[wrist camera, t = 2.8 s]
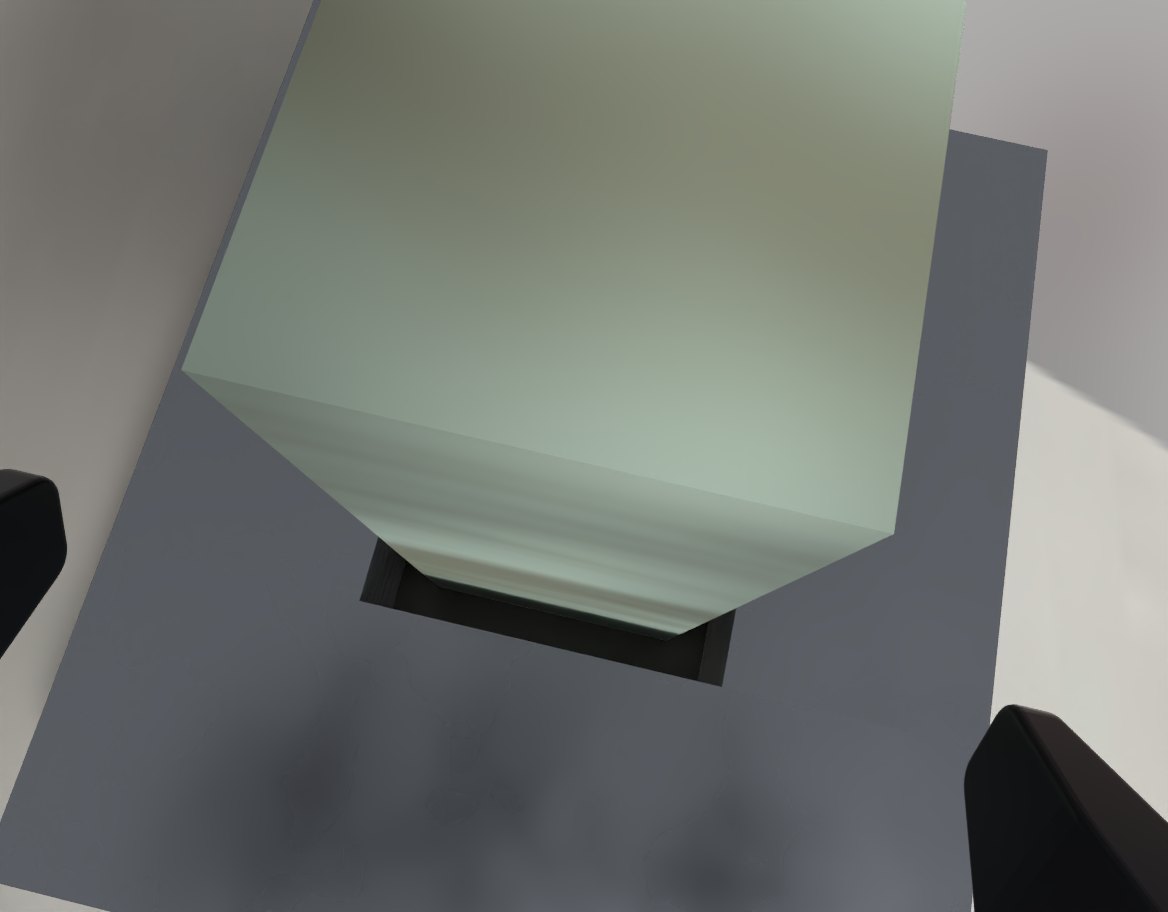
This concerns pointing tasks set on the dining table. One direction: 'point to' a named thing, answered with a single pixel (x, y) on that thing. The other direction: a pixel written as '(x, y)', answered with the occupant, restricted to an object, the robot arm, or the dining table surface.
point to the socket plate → (536, 678)
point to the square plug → (596, 288)
